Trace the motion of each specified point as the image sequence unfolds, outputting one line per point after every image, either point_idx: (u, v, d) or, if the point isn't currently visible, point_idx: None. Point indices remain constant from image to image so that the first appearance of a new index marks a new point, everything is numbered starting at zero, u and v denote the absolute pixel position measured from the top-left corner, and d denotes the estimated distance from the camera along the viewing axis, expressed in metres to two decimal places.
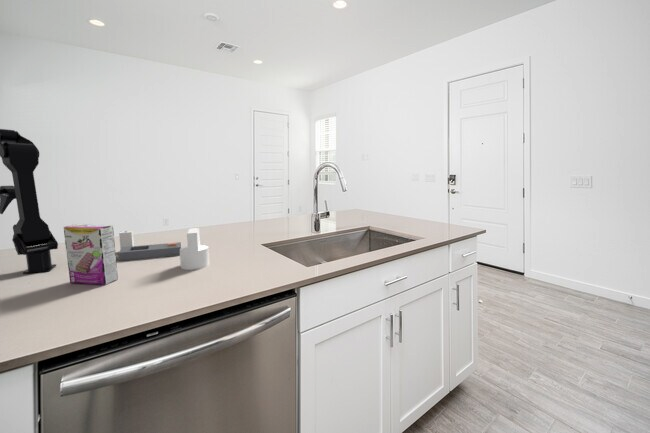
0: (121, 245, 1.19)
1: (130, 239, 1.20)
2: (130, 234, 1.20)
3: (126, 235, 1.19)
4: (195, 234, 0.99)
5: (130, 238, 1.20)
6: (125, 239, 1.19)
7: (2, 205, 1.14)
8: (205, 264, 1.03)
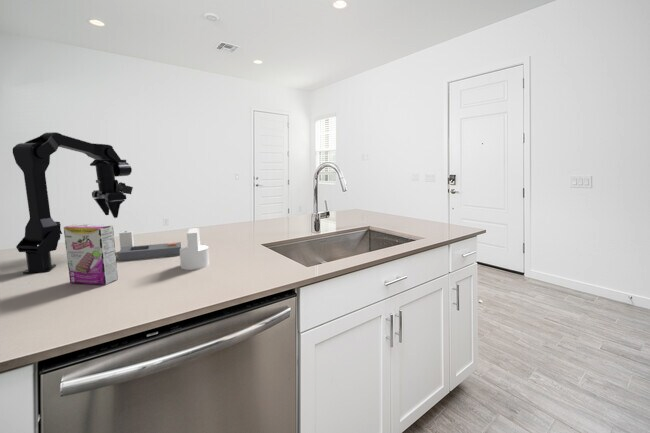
0: (121, 245, 1.19)
1: (130, 239, 1.20)
2: (130, 234, 1.20)
3: (126, 235, 1.19)
4: (195, 234, 0.99)
5: (130, 238, 1.20)
6: (125, 239, 1.19)
7: None
8: (205, 264, 1.03)
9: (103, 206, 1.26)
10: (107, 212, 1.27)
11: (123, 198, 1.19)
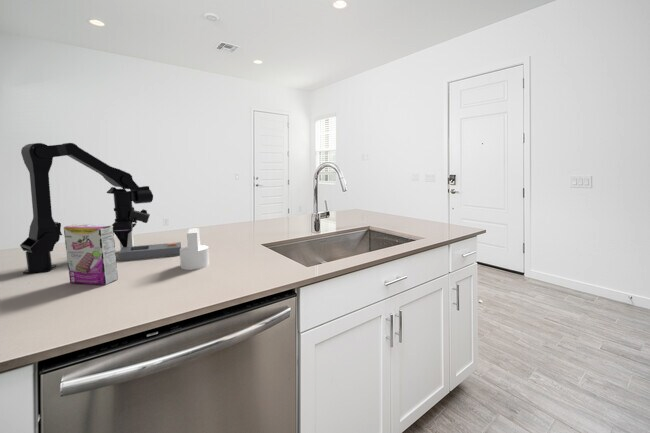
0: (121, 245, 1.19)
1: (130, 239, 1.20)
2: (130, 234, 1.20)
3: None
4: (195, 234, 0.99)
5: (130, 238, 1.20)
6: None
7: None
8: (205, 264, 1.03)
9: None
10: None
11: (127, 228, 1.13)
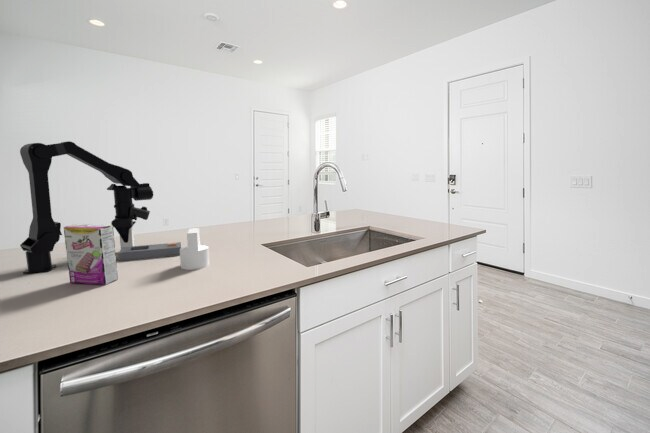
0: (121, 241, 1.19)
1: (130, 235, 1.20)
2: (130, 230, 1.19)
3: None
4: (195, 234, 0.99)
5: (130, 234, 1.20)
6: None
7: None
8: (205, 264, 1.03)
9: None
10: None
11: (127, 225, 1.13)
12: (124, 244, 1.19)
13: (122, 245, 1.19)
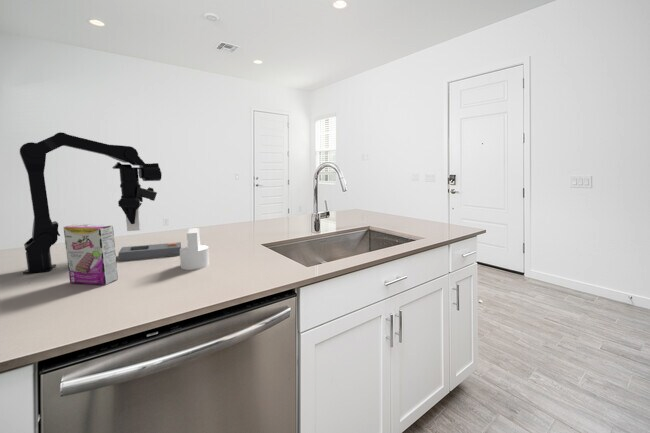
0: (127, 222, 1.14)
1: (137, 216, 1.15)
2: (137, 211, 1.15)
3: None
4: (195, 234, 0.99)
5: (137, 215, 1.15)
6: None
7: None
8: (205, 264, 1.03)
9: None
10: None
11: (135, 204, 1.08)
12: (131, 226, 1.14)
13: (129, 227, 1.14)
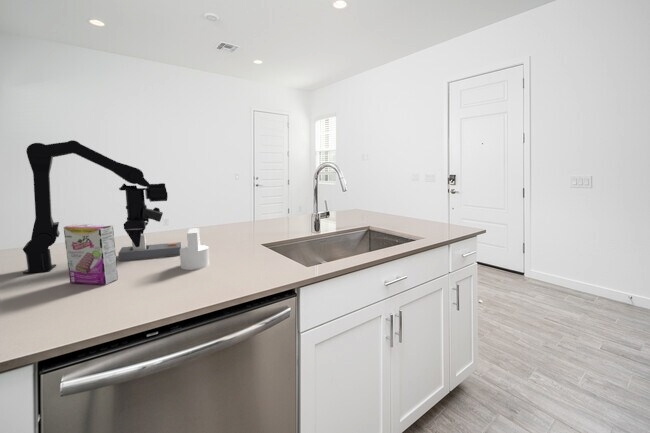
0: (133, 249, 1.13)
1: (143, 243, 1.14)
2: (143, 237, 1.14)
3: None
4: (195, 234, 0.99)
5: (143, 242, 1.14)
6: None
7: None
8: (205, 264, 1.03)
9: None
10: None
11: (140, 227, 1.07)
12: None
13: None
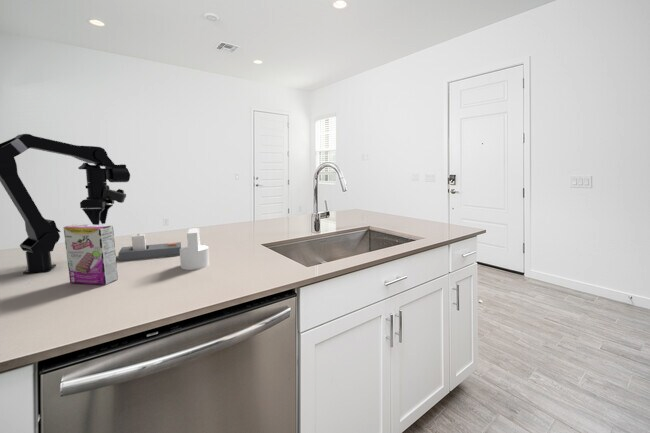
0: (133, 249, 1.13)
1: (143, 243, 1.14)
2: (143, 237, 1.14)
3: (139, 238, 1.13)
4: (195, 234, 0.99)
5: (143, 242, 1.14)
6: (138, 243, 1.13)
7: None
8: (205, 264, 1.03)
9: (99, 213, 1.17)
10: (103, 220, 1.17)
11: (98, 206, 1.04)
12: None
13: None
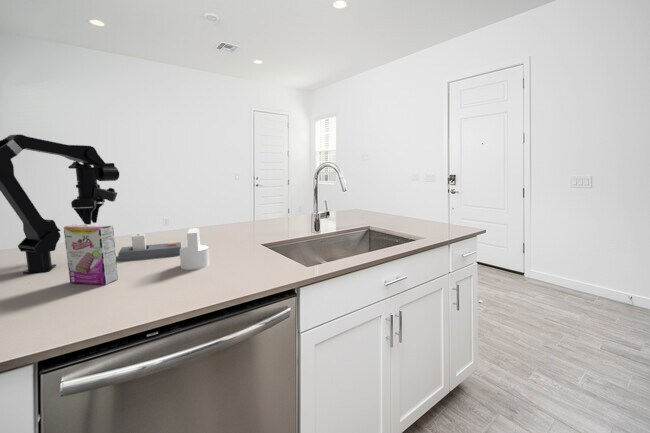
0: (133, 249, 1.13)
1: (143, 243, 1.14)
2: (143, 237, 1.14)
3: (139, 238, 1.13)
4: (195, 234, 0.99)
5: (143, 242, 1.14)
6: (138, 243, 1.13)
7: None
8: (205, 264, 1.03)
9: None
10: (94, 219, 1.17)
11: (89, 205, 1.04)
12: None
13: None
